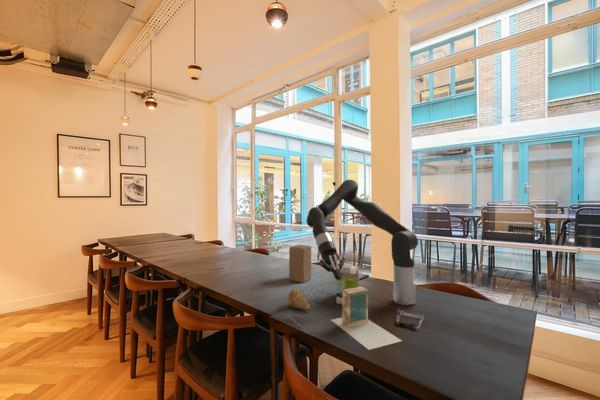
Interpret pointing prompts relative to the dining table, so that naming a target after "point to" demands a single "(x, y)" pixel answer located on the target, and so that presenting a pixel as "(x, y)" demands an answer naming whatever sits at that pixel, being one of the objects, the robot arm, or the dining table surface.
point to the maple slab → (354, 307)
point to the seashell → (298, 300)
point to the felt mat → (369, 334)
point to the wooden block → (300, 263)
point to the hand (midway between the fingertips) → (339, 279)
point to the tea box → (347, 280)
